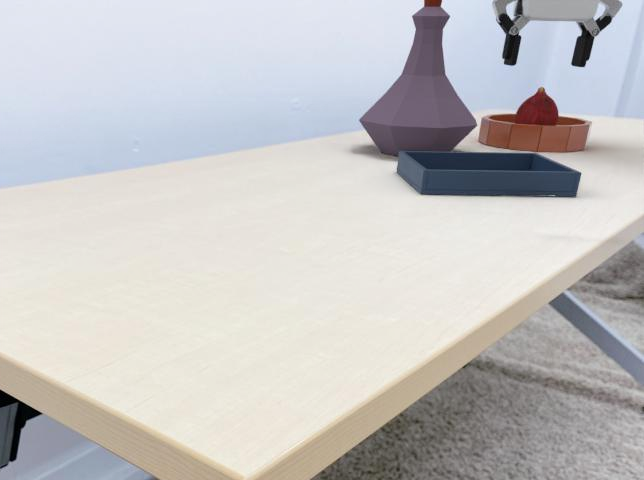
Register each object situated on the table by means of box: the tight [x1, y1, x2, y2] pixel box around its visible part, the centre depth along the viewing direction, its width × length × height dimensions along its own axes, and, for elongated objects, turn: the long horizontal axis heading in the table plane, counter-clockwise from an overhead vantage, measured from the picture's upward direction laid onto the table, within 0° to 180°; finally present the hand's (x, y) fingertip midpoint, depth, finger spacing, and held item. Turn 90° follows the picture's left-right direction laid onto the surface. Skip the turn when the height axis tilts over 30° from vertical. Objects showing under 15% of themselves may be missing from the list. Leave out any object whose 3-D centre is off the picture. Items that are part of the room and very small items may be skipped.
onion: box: [515, 86, 560, 125], centre depth 104 cm, size 6×6×8 cm
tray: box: [396, 151, 582, 198], centre depth 79 cm, size 16×12×2 cm
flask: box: [358, 0, 478, 157], centre depth 94 cm, size 16×16×20 cm
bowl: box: [477, 113, 593, 153], centre depth 105 cm, size 15×15×4 cm
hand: (543, 65), depth 102 cm, fingers open, 9 cm apart
